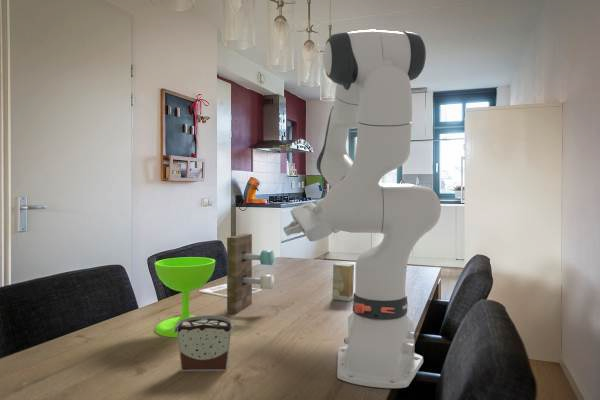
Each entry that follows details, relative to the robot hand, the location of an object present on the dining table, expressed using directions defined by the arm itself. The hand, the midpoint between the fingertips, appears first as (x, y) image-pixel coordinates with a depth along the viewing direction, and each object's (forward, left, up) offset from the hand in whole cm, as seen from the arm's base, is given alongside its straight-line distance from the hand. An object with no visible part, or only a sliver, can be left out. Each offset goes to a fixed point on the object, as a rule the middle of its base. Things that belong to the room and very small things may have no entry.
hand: (284, 232), depth 127 cm
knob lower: (+5, +13, -18) cm, 23 cm away
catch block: (+5, +17, -25) cm, 31 cm away
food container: (-38, +5, -25) cm, 46 cm away
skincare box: (+26, -12, -25) cm, 39 cm away
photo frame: (+25, +30, -26) cm, 47 cm away
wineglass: (-17, +23, -25) cm, 38 cm away
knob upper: (+5, +13, -11) cm, 17 cm away
